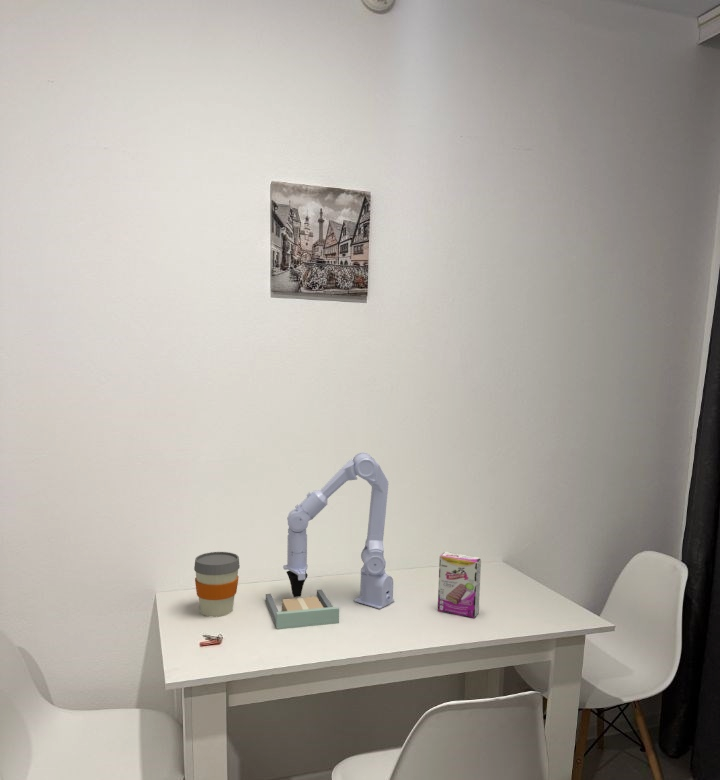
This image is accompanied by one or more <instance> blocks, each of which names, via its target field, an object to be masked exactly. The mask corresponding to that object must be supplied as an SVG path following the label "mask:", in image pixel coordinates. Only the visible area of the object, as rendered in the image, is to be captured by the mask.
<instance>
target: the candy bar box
mask: <svg viewBox="0 0 720 780" xmlns="http://www.w3.org/2000/svg"><path fill="white" fill-rule="evenodd" d="M481 567H482V558H481V557H478V556H473V555H468V554H467V555H466V554H460V553H456V552H455V553H454V552H449V551H443V553H441V554H440V555H439V568H438V573H439V574H438V590H437V591H438V594H437V595H438V596H437V598H438V599H437V612H441V613H447V614H451V615H452V614H453V615H458V616H462V617H466V618H473V619H475V618H476V616H478V614H479V612H480V591H481V589H480V588H481V571H482V570H481Z"/></svg>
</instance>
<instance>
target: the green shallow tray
mask: <svg viewBox="0 0 720 780" xmlns="http://www.w3.org/2000/svg"><path fill="white" fill-rule="evenodd" d="M316 596H317V598H318V600H320V603H321V604H322V606H323V607H324V608H316V609H305V610H295V611H284V612H282V611H279V610H278V607H277V605H276V602H275V600H274V598H273V596H272V593H265V603H266V606H267V608H268V611H269V614H270V616H271V618H272V620H273V623H274V626H275V627H276V630H283V629H284V630H285V629H291V628H292V629H293V628H302V627H311V626H312V627H313V626H321V625H322V626H323V625H331V624H340V608H339V606H334V605H333V604H332V602H331V601H330V600H329V598H328V597H327V595H326V593H325V592H324V590H323V589H316Z"/></svg>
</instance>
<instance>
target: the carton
mask: <svg viewBox="0 0 720 780" xmlns="http://www.w3.org/2000/svg"><path fill="white" fill-rule="evenodd" d="M316 608H324V607H323V606H322V604H321V602H320V601H319V599H318V597H317V595H316V596H307V597H292V598H286V599H285V598H284V599H281V612H284V611H295V610H305V609H316Z"/></svg>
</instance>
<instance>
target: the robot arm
mask: <svg viewBox="0 0 720 780" xmlns="http://www.w3.org/2000/svg"><path fill="white" fill-rule="evenodd" d="M357 476H358V477H360V478H361V479H363V480H364V481H366V482H367V483H368V484H369V485H370V487H371V492H370V494H371V495H370V502H369V503H370V505H369V514H368V524H367V525H368V526H367V533H366V534H367V536H366V539H365V544H364V548H363V549H362V551H361V553H360V558H361V561H362V563H363V566H362V567H361V568H360V590H359V597H357V598H354V599H353V602H355V603H359V604H362V605H364V606H365V605H366V606H368V607H372V608H375V609H379V610H380V609H383V608H384V607H386V606H388V605H390V604H392V603H393V602H395V599H394V578H393V577H392V576H391V575H389V574H388V573H386V570H385V569H386V567H387V566H386V563H387V562H386V559H385V555H384V549H385V548H384V536H385V535H384V534H385V526H386V525H385V523H386V514H387V513H386V512H387V505H388V504H387V502H388V493H389V492H388V491H389V481H388V478H387V477H386V475H385V472H384V471H383V469H382V467H381V466H380V463H378V462H377V461H376V460H375V459H374V458H373V457H372V456H371V455H370V454H368V453H367V452H359V453H357V454H355V455H354V457H353V458H351V459H350V460H348V461H347V462H345V464H344V465H343V466H342V467H341V468H340V469H339V470H338V471H337V472H336V473H335V474H334V475H333V476H332V477H331V478H330V479H329V480H328V481H327V482H326V484H325V485H324V486H322V488H321V489H320V490H313V491H312V492H310V491H308V493H307V494H306V497H305V499H304V500H303V501H301V502H300V503H299V504H297V505H295V506H294V507H295V508H294V509H291V511H289V513H288V516H287V519H286V520H287V525H288V528H287V533H288V534H287V546H286V547H287V551H286V552H287V558H286V559H287V560H286V562H287V564H284V565H283V566H282V568H283V570H287V571H286V574H287V576H288V579H289V583H290V588H291V593H292V596H293V597H292V598H301V595H302V592H303V587H304V584H305V582H306V580H307V578H308V576H309V575H308V573H307V570H308V564H307V563H308V559H307V558H308V556H307V555H308V534H307V528H308V525H309V522H310V521H311V520H313V519H314V518H315V517H317V516H318V515H319V513H320V512H322V511H323V509H325V507H326V506H328V499H329V498H330V497H331V496H332V495H333V494H334V493H336V492H337V491H338V490H339V489H340V488H341V487H342V486H343V485H344V484H346V482H348V481H356V480H358V477H357Z"/></svg>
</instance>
